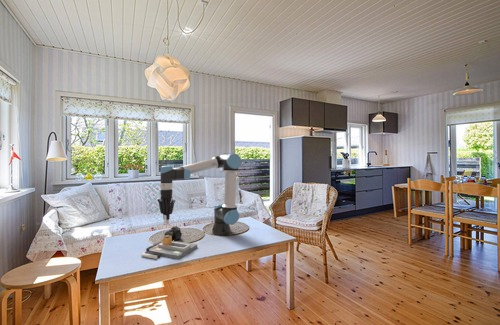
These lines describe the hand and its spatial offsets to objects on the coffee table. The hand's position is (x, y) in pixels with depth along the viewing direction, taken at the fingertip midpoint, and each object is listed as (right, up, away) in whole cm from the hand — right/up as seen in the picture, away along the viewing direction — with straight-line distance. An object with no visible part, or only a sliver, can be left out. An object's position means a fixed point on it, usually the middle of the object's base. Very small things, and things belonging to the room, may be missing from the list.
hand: (166, 224), depth 160 cm
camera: (-1, -17, +18) cm, 25 cm away
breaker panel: (+6, -17, -2) cm, 18 cm away
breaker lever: (0, -14, +1) cm, 14 cm away
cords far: (-6, -17, -12) cm, 21 cm away
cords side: (-8, -17, +3) cm, 19 cm away
